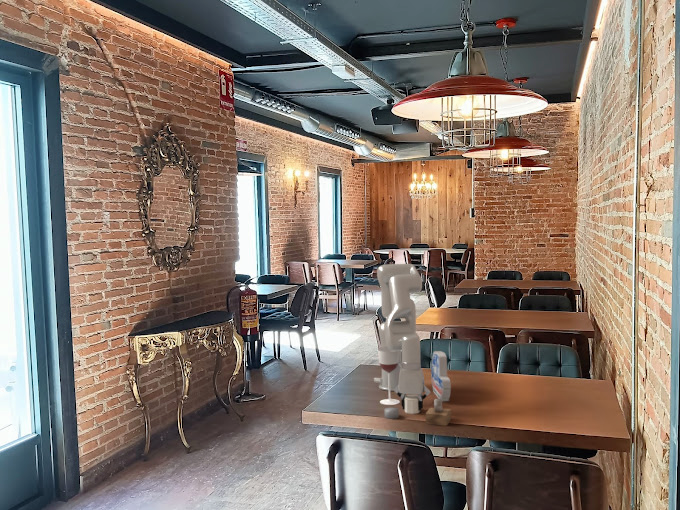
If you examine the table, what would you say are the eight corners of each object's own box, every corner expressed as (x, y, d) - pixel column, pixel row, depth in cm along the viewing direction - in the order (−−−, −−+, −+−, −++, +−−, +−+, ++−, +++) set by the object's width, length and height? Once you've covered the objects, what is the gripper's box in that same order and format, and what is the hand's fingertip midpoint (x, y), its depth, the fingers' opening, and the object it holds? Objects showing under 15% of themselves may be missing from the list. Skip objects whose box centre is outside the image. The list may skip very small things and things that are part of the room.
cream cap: (403, 412, 234) (402, 398, 234) (407, 408, 240) (407, 394, 239) (417, 414, 232) (417, 399, 232) (421, 409, 237) (421, 395, 237)
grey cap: (385, 419, 227) (385, 411, 227) (384, 415, 233) (383, 407, 232) (399, 418, 227) (399, 411, 227) (397, 414, 233) (397, 407, 233)
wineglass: (402, 399, 253) (401, 347, 252) (397, 405, 244) (396, 352, 243) (382, 397, 256) (381, 346, 255) (376, 404, 247) (375, 351, 246)
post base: (425, 423, 220) (425, 401, 220) (430, 417, 228) (430, 396, 227) (446, 425, 217) (446, 403, 217) (451, 419, 224) (450, 397, 224)
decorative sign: (451, 404, 244) (450, 357, 244) (443, 404, 244) (442, 357, 243) (438, 388, 269) (437, 346, 268) (431, 389, 268) (430, 346, 268)
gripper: (388, 366, 235) (389, 409, 236) (429, 369, 228) (430, 414, 229) (394, 362, 242) (395, 404, 242) (434, 365, 235) (435, 408, 236)
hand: (412, 408), depth 236 cm, fingers closed on cream cap, 6 cm apart
